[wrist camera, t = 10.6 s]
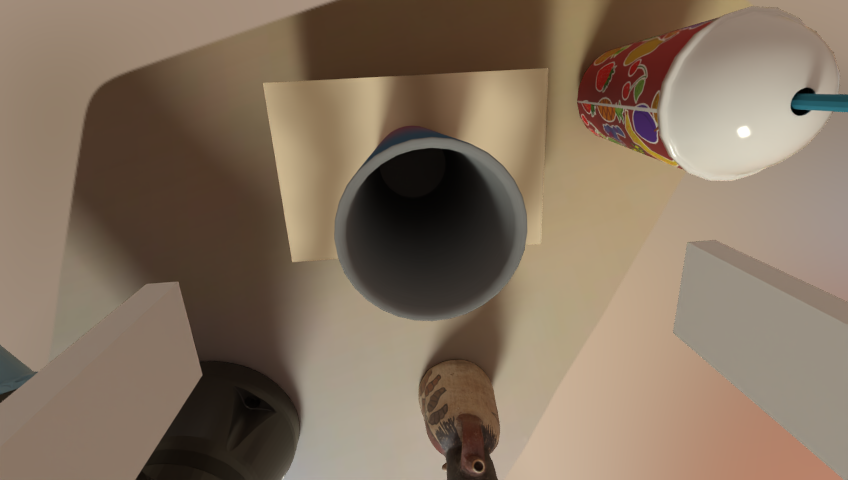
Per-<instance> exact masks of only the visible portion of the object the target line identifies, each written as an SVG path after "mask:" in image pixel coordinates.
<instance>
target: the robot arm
mask: <svg viewBox="0 0 848 480" xmlns="http://www.w3.org/2000/svg"><path fill="white" fill-rule="evenodd" d="M673 333H674V334H675V335H676V336H677V337H678V338H680V339H681V340H682V341H683V342H684V343H685V344H687V345H688V346H689V347H690V348H691V349H692V350H694V351H695V352H696V353H697V354H698V355H699V356H701V357H702V358H703V359H704V360H705V361H706V362H708V363H709V364H710V365H711V366H712V367H713V368H715V369H716V370H717V371H718V372H719V373H720V374H721V375H723V376H724V377H725V378H726V379H727V380H729V381H730V382H731V383H732V384H733V385H734V386H735V387H737V388H738V389H739V390H740V391H741V392H742V393H744V394H745V395H746V396H747V397H748V398H749V399H751V400H752V401H753V402H754V403H755V404H756V405H758V406H759V407H760V408H761V409H762V410H763V411H765V412H766V413H767V414H768V415H769V416H770V417H772V418H773V419H774V420H775V421H776V422H777V423H779V424H780V425H781V426H782V427H783V428H784V429H785V430H787V431H788V432H789V433H790V434H792V436H794V437H795V438H796V439H797V440H798V441H800V442H801V443H802V444H803V445H804V446H805V447H807V448H808V449H809V450H810V451H811V452H813V454H815V455H816V456H817V457H818V458H819V459H821V460H822V461H823V462H824V463H825V464H826V465H828V466H829V467H830V468H831V469H832V470H833V471H834V472H836V473H837V474H838V475H839V476H840V477H841V478H843V479H844V480H848V302H847V301H845V300H843V299H840V298H838V297H836V296H834V295H832V294H830V293H828V292H825V291H823V290H821V289H819V288H817V287H815V286H813V285H810V284H808V283H806V282H804V281H802V280H800V279H797V278H795V277H793V276H791V275H789V274H787V273H785V272H783V271H780V270H778V269H776V268H774V267H772V266H770V265H767V264H765V263H763V262H761V261H759V260H757V259H755V258H752V257H750V256H748V255H746V254H744V253H742V252H740V251H737V250H735V249H733V248H731V247H729V246H727V245H725V244H722V243H720V242H718V241H716V240H710V241H696V242H688V243H687V248H686V254H685V260H684V266H683V273H682V279H681V285H680V292H679V298H678V304H677V311H676V317H675V323H674V330H673ZM299 432H300V427H299V419H298V415H297V412H296V410H295V407H294V405H293V404H292V402H291V400H290V399H289V397H288V396H287V395H286V393H285V392H284V391H283V390H282V389H281V388H280V387H279V386H278V385H277V384H275V383H274V382H273V381H272V380H270V379H269V378H267V377H266V376H264V375H262V374H260V373H258V372H256V371H254V370H252V369H249V368H246V367H243V366H240V365H236V364H231V363H225V362H199V359H198V355H197V352H196V348H195V344H194V340H193V336H192V332H191V328H190V325H189V321H188V317H187V313H186V309H185V305H184V302H183V298H182V294H181V290H180V286H179V282H165V283H152V284H146V285H144V286H143V287H142V288H141V289H140V290H138V291H137V292H136V293H135V294H133V295H132V296H131V297H130V298H129V299H127V300H126V301H125V302H124V303H122V304H121V305H120V306H119V307H117V308H116V309H115V310H114V311H113V312H111V313H110V314H109V315H108V316H106V317H105V318H104V319H103V320H102V321H100V322H99V323H98V324H97V325H95V326H94V327H93V328H92V329H91V330H89V331H88V332H87V333H86V334H84V335H83V336H82V337H81V338H80V339H78V340H77V341H76V342H75V343H73V344H72V345H71V346H70V347H68V348H67V349H66V350H65V351H64V352H62V353H61V354H60V355H59V356H57V357H56V358H55V359H54V360H53V361H51V362H50V363H49V364H48V365H46V366H45V367H44V368H43V369H42V370H41V371H39V372H33V371H32V370H31V369H30V368H28V367H27V366H26V365H25V364H23V363H22V362H21V361H19V360H18V359H17V358H16V357H14V356H13V355H12V354H11V353H10V352H8V351H7V350H6V349H5V348H3V347H2V346H1V345H0V480H282V479H283V477H284V476H285V475H286V473H287V471H288V470H289V468H290V466H291V463H292V461H293V458H294V455H295V451H296V447H297V443H298V440H299Z"/></svg>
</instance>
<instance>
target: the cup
mask: <svg viewBox="0 0 848 480" xmlns="http://www.w3.org/2000/svg"><path fill="white" fill-rule="evenodd" d="M526 238H527V213H526V209H525V204H524V200H523V196H522V194H521V192H520V190H519V188H518V186H517V184H516V182H515V180H514V179H513V177H512V176H511V175H510V174H509V172H508V171H507V170H506V168H505V167H504V166H503V165H502V164H501V163H500V162H499V161H497V160H496V159H495V158H494V157H493V156H491V155H490V154H489V153H488V152H486V151H484V150H482V149H480V148H478V147H476V146H474V145H473V144H470V143H468V142H465V141H462V140H459V139H456V138H453V137H450V136H447V135H444V134H441V133H439V132H436V131H433V130H430V129H427V128H424V127H420V126H404V127H401V128H398V129H396V130H394V131H392V132H391V133H389V134H388V135H387V136H386V137H385V138H384V139H383V140H382V142H381V143H380V144H379V145H378V146H377V148H376V149H375V150H374V151H373V153H372V154H371V155H370V156H369V157H368V159H367V160H366V161H365V162H364V164H363V165H362V166H361V167H360V168H359V170H358V171H357V172H356V174H355V175H354V176H353V178H352V179H351V180H350V182H349V183H348V184H347V186H346V188H345V190H344V193H343V195H342V197H341V199H340V201H339V204H338V209H337V213H336V217H335V233H334V240H335V245H336V250H337V255H338V258H339V261H340V263H341V266H342V268H343V270H344V273H345V274H346V276H347V277H348V279H349V280H350V282H351V283H352V285H353V286H354V288H355V289H356V290H357V291H358V292H360V293H361V294H362V295H363V296H364V297H365V298H366V299H367V300H368V301H369V302H371V303H372V304H374V305H375V306H377V307H379V308H380V309H382V310H384V311H386V312H388V313H391V314H393V315H396V316H398V317H402V318H407V319H412V320H420V321H437V320H444V319H451V318H454V317H457V316H460V315H464V314H467V313H469V312H471V311H473V310H475V309H477V308H478V307H480V306H482V305H484V304H485V303H486V302H488V301H489V300H490V299H492V298H493V297H494V296H496V295H497V294H498V293H499V292H500V291H501V289H502V288H503V287H504V286H505V285H506V284H507V283H508V282H509V280H510V279H511V277H512V275H513V274H514V272H515V271H516V269H517V267H518V265H519V263H520V260H521V257H522V255H523V252H524V249H525V244H526Z"/></svg>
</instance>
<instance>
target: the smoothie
mask: <svg viewBox="0 0 848 480" xmlns="http://www.w3.org/2000/svg"><path fill="white" fill-rule="evenodd" d="M839 89H840V72H839V68H838V65H837V62H836V58H835V55H834V52H833V51H832V50H831V49H830V48H829V46H828V45H827V44H826V43H825V41H824V40H823V39H822V38H821V37H820V35H819V34H818V33H817V32H816V31H814V30H812V29H811V28H809V27H807V26H806V25H805V24H804V23H803V22H802V20H801V19H800V18H798V17H796V16H794V15H792V14H790V13H787V12H785V11H783V10H781V9H779V8H774V7H754V6H751V7H748V8H745V9H741V10H738V11H735V12H732V13H729V14H726V15H723V16H721V17H719V18H715V19H712V20H709V21H705V22H702V23H699V24H695V25H692V26H689V27H685V28H682V29H679V30H675V31H672V32H669V33H665V34H662V35H659V36H655V37H652V38H649V39H645V40H642V41H639V42H635V43H632V44H629V45H625V46H622V47H618V48H616V49H613V50H610V51H607V52H605V53H604V54H603V55H601V56H600V57H599V58H597V59H596V60H595V61H594V62H593V63H592V64H591V66H590V67H589V68H588V69H587V71H586V72H585V73H584V76H583V78H582V81H581V83H580V86H579V90H578V100H577V104H578V109H579V114H580V117H581V119H582V120H583V122H584V124H585V126H586V127H587V128H588V129H589V130H590V131H592V132H593V133H594V134H595V135H597V136H599V137H602V138H604V139H607V140H610V141H612V142H615V143H617V144H620V145H622V146H625V147H627V148H630V149H632V150H635V151H637V152H640V153H642V154H645V155H648V156H650V157H653V158H655V159H658V160H660V161H663V162H665V163H668V164H670V165H673V166H675V167H678V168H681V169H683V170H684V171H686V172H688V173H690V174H693V175H695V176H698V177H701V178H703V179H706V180H709V181H733V180H737V179H740V178H743V177H747V176H750V175H753V174H756V173H758V172H760V171H761V170H763V169H765V168H767V167H770V166H773V165H777V164H779V163H780V162H782V161H784V160H785V159H787V158H789V157H790V156H792V155H794V154H795V153H797V152H798V151H800V150H802V149H803V148H805V147H806V146H807V145H808V143H810V141H812V140H813V139H814V138H815V136H817V134H818V133H819V132H820V131H821V130H822V129H823V128H824V126H825V124H826V123H827V121H828V120H829V118H830V116H831V115H832V113H833V111H835V112H848V95H843V94H839Z"/></svg>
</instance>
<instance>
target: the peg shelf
mask: <svg viewBox="0 0 848 480" xmlns="http://www.w3.org/2000/svg"><path fill="white" fill-rule="evenodd" d="M263 86H264V93H265V99H266V105H267V111H268V117H269V123H270V129H271V135H272V141H273V148H274V154H275V160H276V166H277V172H278V178H279V184H280V190H281V196H282V203H283V209H284V215H285V221H286V227H287V233H288V239H289V245H290V251H291V258H292V262H302V261H315V260H329V259H339V258H338V255H337V250H336V245H335V240H334V233H335V217H336V213H337V209H338V204H339V201H340V199H341V197H342V195H343V193H344V190H345V188H346V186H347V184H348V183H349V182H350V180H351V179H352V178H353V176H354V175H355V174H356V172H357V171H358V170H359V168H360V167H361V166H362V165H363V164H364V162H365V161H366V160H367V159H368V157H369V156H370V155H371V154H372V153H373V151H374V150H375V149H376V148H377V146H378V145H379V144H380V143H381V142H382V140H383V139H384V138H385V137H386V136H387V135H388V134H389V133H391V132H392V131H394V130H396V129H398V128H401V127H404V126H420V127H424V128H427V129H430V130H433V131H436V132H439V133H441V134H444V135H447V136H450V137H453V138H456V139H459V140H462V141H465V142H468V143H470V144H473V145H474V146H476V147H478V148H480V149H482V150H484V151H486V152H488V153H489V154H490V155H491V156H493V157H494V158H495V159H496V160H497V161H499V162H500V163H501V164H502V165H503V166H504V167H505V168H506V170H507V171H508V172H509V174H510V175H511V176H512V177H513V179H514V180H515V182H516V184H517V186H518V188H519V190H520V192H521V194H522V196H523V200H524V204H525V209H526V213H527V238H526V244H525V245H533V244H541V233H542V209H543V185H544V162H545V138H546V114H547V90H548V68H541V69H522V70H503V71H484V72H465V73H446V74H426V75H407V76H388V77H369V78H350V79H331V80H312V81H293V82H274V83H263Z"/></svg>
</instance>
